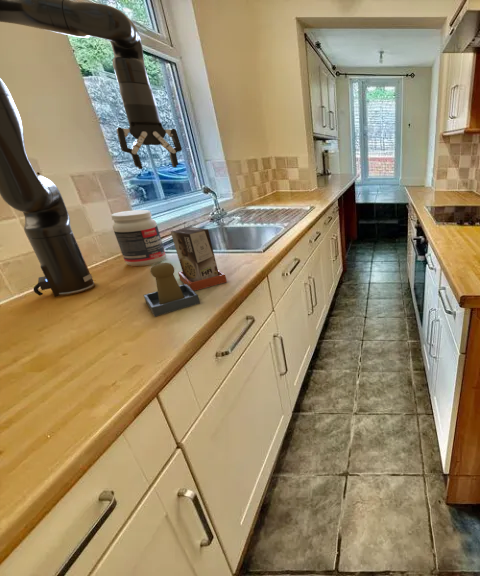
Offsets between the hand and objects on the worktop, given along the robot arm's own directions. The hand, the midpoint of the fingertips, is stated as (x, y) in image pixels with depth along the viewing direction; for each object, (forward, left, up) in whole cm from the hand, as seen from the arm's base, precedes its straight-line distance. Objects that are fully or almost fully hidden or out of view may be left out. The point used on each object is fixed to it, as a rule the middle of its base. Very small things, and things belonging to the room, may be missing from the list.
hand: (158, 167), depth 93 cm
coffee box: (+2, -8, -34) cm, 35 cm away
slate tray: (-9, -20, -34) cm, 40 cm away
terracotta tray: (+2, -8, -34) cm, 35 cm away
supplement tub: (-7, +27, -34) cm, 44 cm away
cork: (-9, -19, -34) cm, 40 cm away
